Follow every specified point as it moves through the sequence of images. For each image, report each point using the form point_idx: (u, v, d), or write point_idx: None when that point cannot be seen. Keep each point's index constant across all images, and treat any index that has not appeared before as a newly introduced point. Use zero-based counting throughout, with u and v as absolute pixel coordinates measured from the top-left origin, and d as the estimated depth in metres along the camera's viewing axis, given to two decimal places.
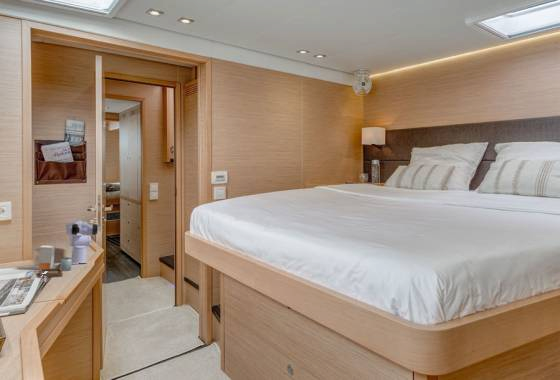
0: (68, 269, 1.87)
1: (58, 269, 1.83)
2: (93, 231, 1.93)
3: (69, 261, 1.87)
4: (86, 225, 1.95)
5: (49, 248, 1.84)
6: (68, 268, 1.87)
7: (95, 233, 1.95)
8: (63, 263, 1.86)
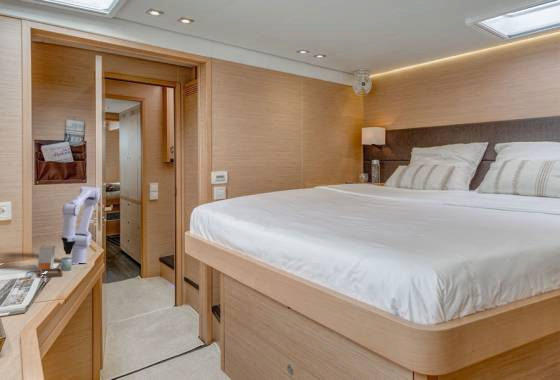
0: (68, 269, 1.87)
1: (58, 269, 1.83)
2: None
3: (69, 261, 1.87)
4: (64, 236, 1.86)
5: (49, 248, 1.84)
6: (68, 268, 1.87)
7: (73, 244, 1.85)
8: (63, 263, 1.86)
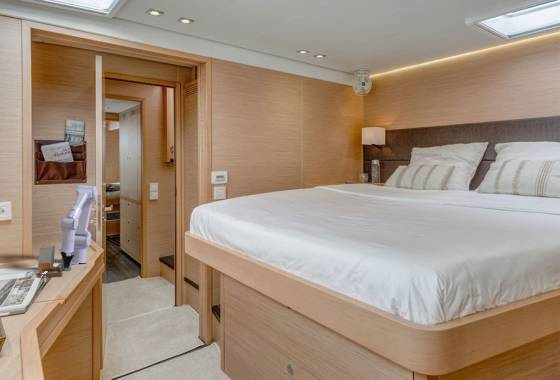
0: (68, 269, 1.87)
1: (58, 269, 1.83)
2: None
3: None
4: None
5: (49, 248, 1.84)
6: (68, 268, 1.87)
7: (72, 258, 1.86)
8: (63, 263, 1.86)
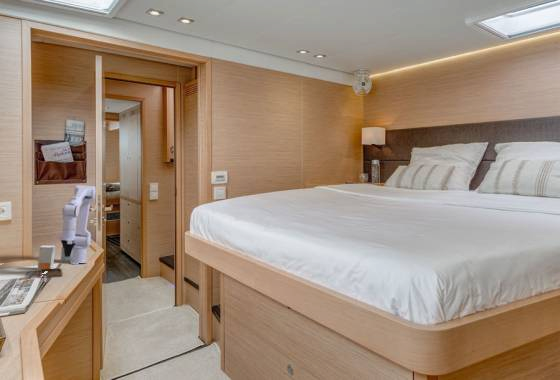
0: (69, 259, 1.80)
1: (58, 269, 1.83)
2: None
3: None
4: None
5: (49, 248, 1.84)
6: (69, 258, 1.80)
7: (73, 246, 1.79)
8: None
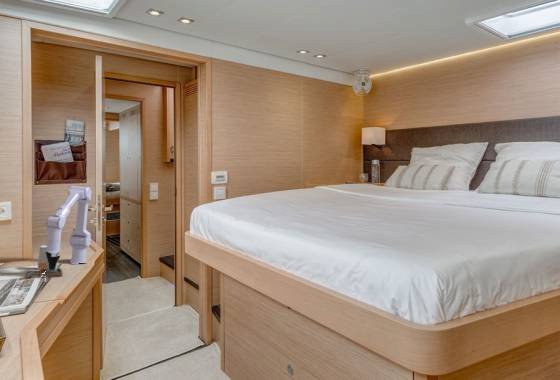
0: None
1: (58, 269, 1.83)
2: None
3: None
4: None
5: None
6: (53, 271, 1.77)
7: None
8: (48, 266, 1.76)
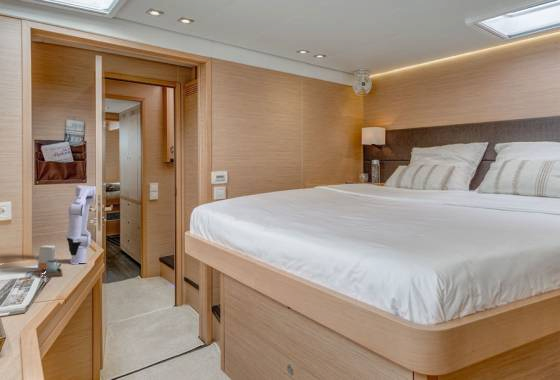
0: (53, 272, 1.77)
1: (58, 269, 1.83)
2: None
3: (55, 264, 1.77)
4: (69, 237, 1.82)
5: (49, 248, 1.84)
6: (53, 271, 1.77)
7: (79, 245, 1.82)
8: (48, 266, 1.76)
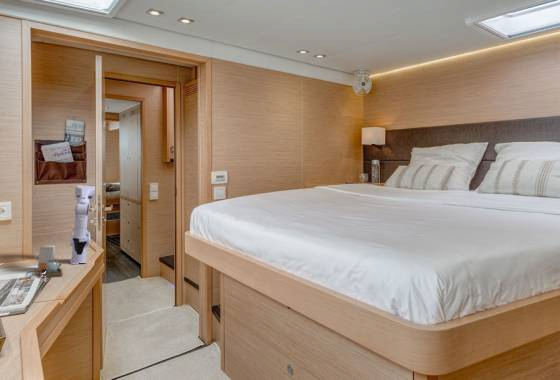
0: None
1: (58, 269, 1.83)
2: None
3: (55, 264, 1.77)
4: None
5: (49, 248, 1.84)
6: (53, 271, 1.77)
7: (85, 245, 1.84)
8: (48, 266, 1.76)
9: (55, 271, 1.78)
